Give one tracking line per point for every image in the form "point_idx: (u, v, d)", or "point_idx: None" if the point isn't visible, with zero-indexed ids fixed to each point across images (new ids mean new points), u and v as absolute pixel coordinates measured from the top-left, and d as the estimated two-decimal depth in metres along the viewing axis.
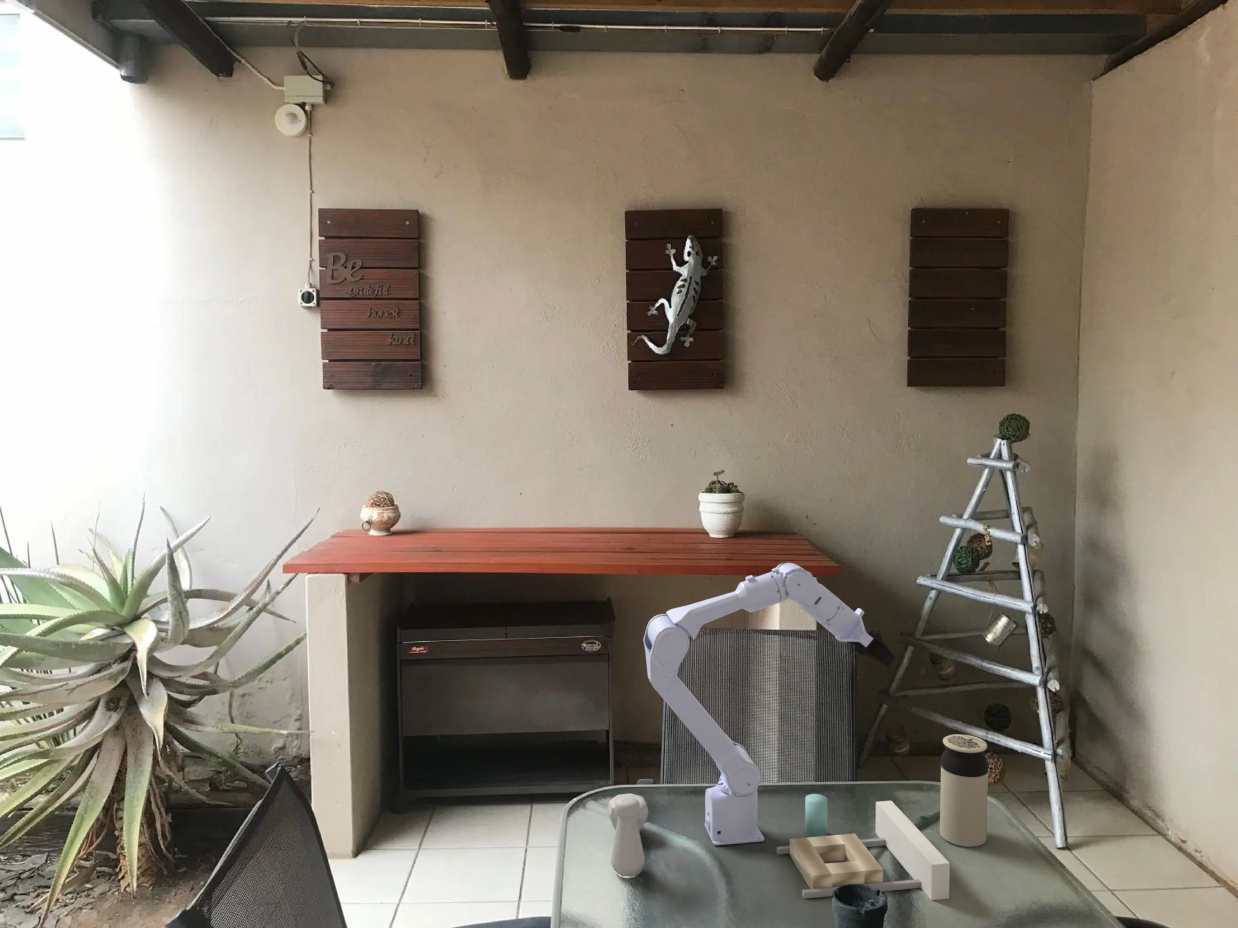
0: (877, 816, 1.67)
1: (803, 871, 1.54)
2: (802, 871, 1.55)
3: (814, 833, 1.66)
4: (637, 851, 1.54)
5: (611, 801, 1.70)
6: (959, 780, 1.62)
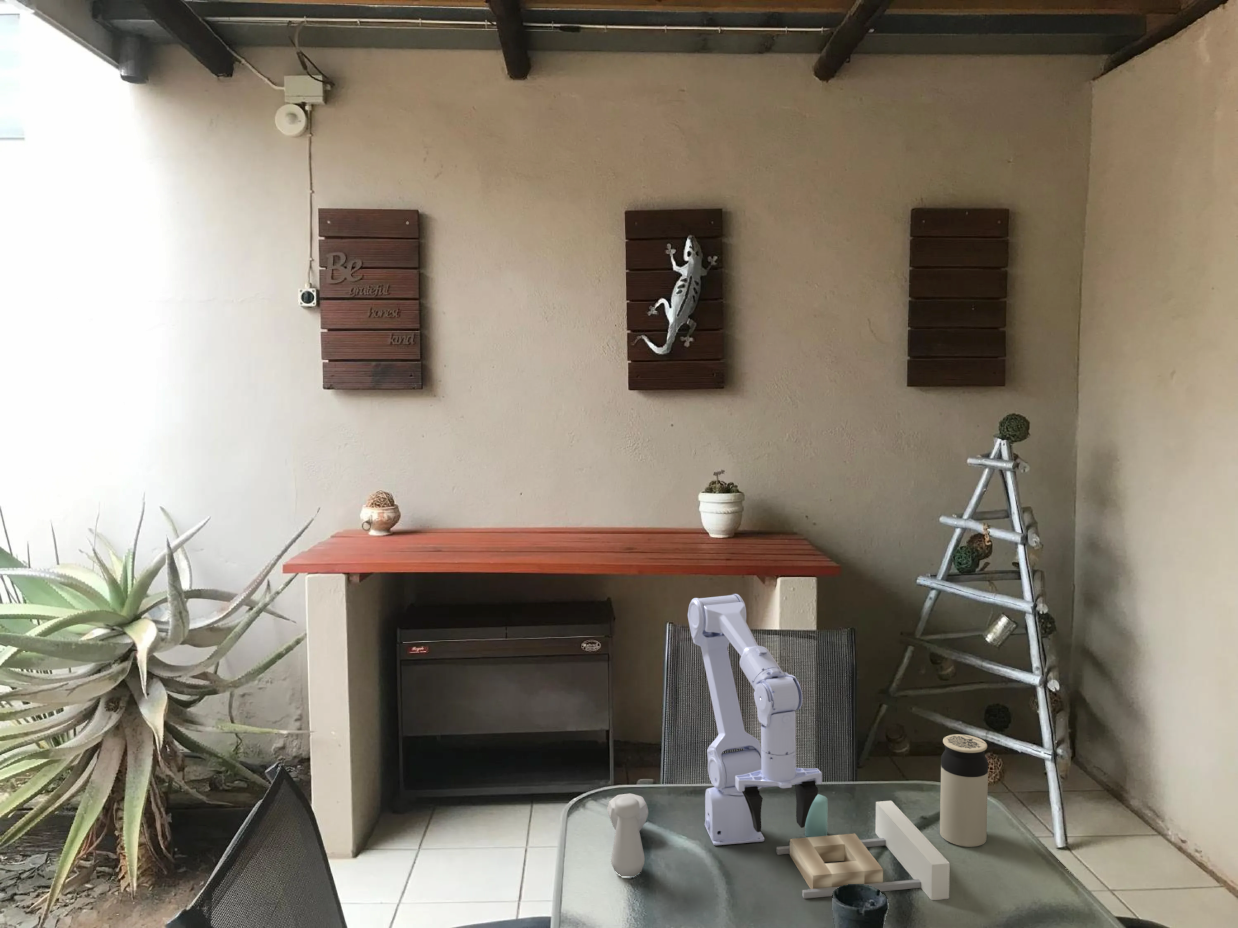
0: (877, 816, 1.67)
1: (803, 871, 1.54)
2: (802, 871, 1.55)
3: (814, 833, 1.66)
4: (637, 851, 1.54)
5: (611, 801, 1.70)
6: (959, 780, 1.62)
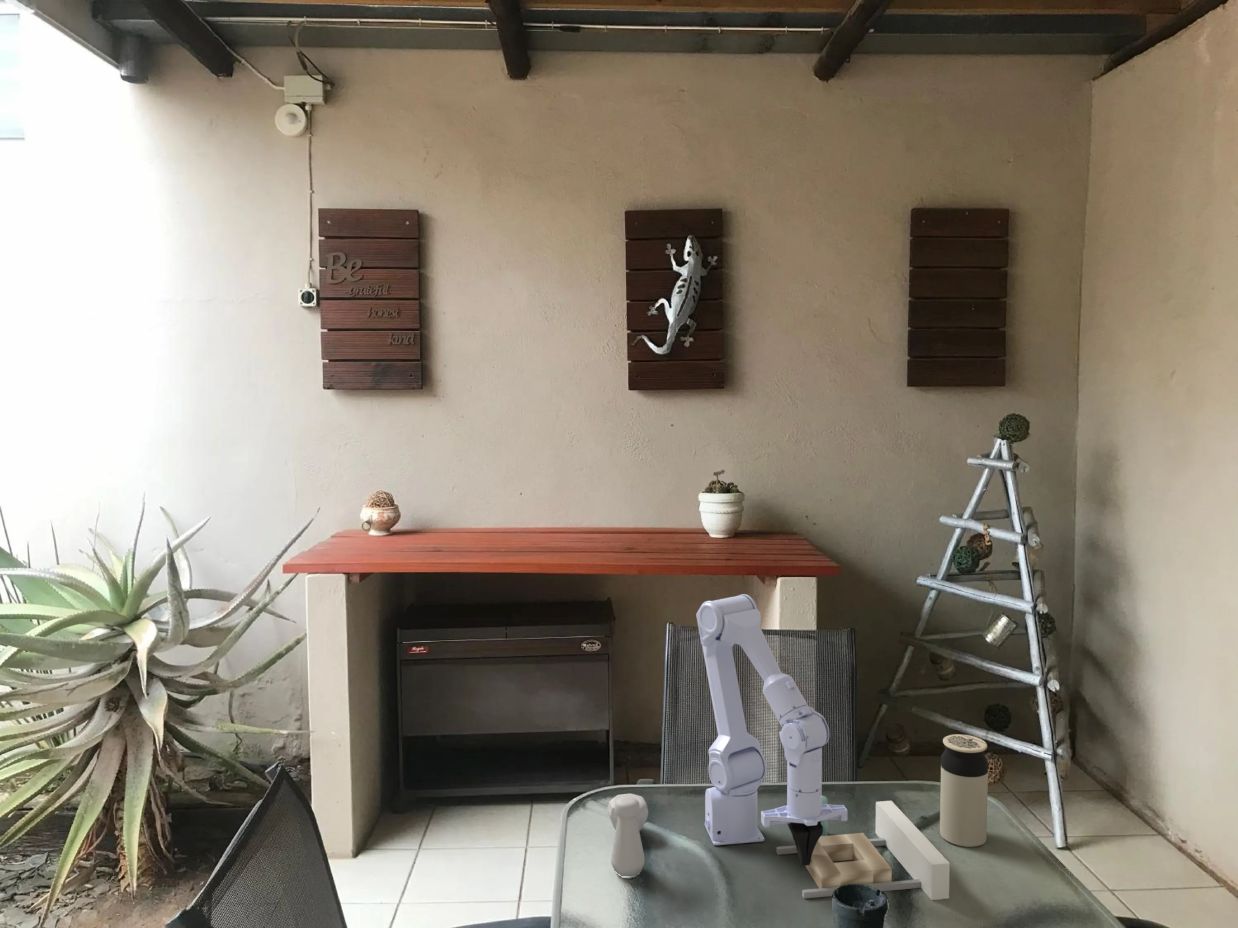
0: (877, 816, 1.67)
1: (812, 870, 1.54)
2: (810, 871, 1.55)
3: None
4: (637, 851, 1.54)
5: (611, 801, 1.70)
6: (959, 780, 1.62)
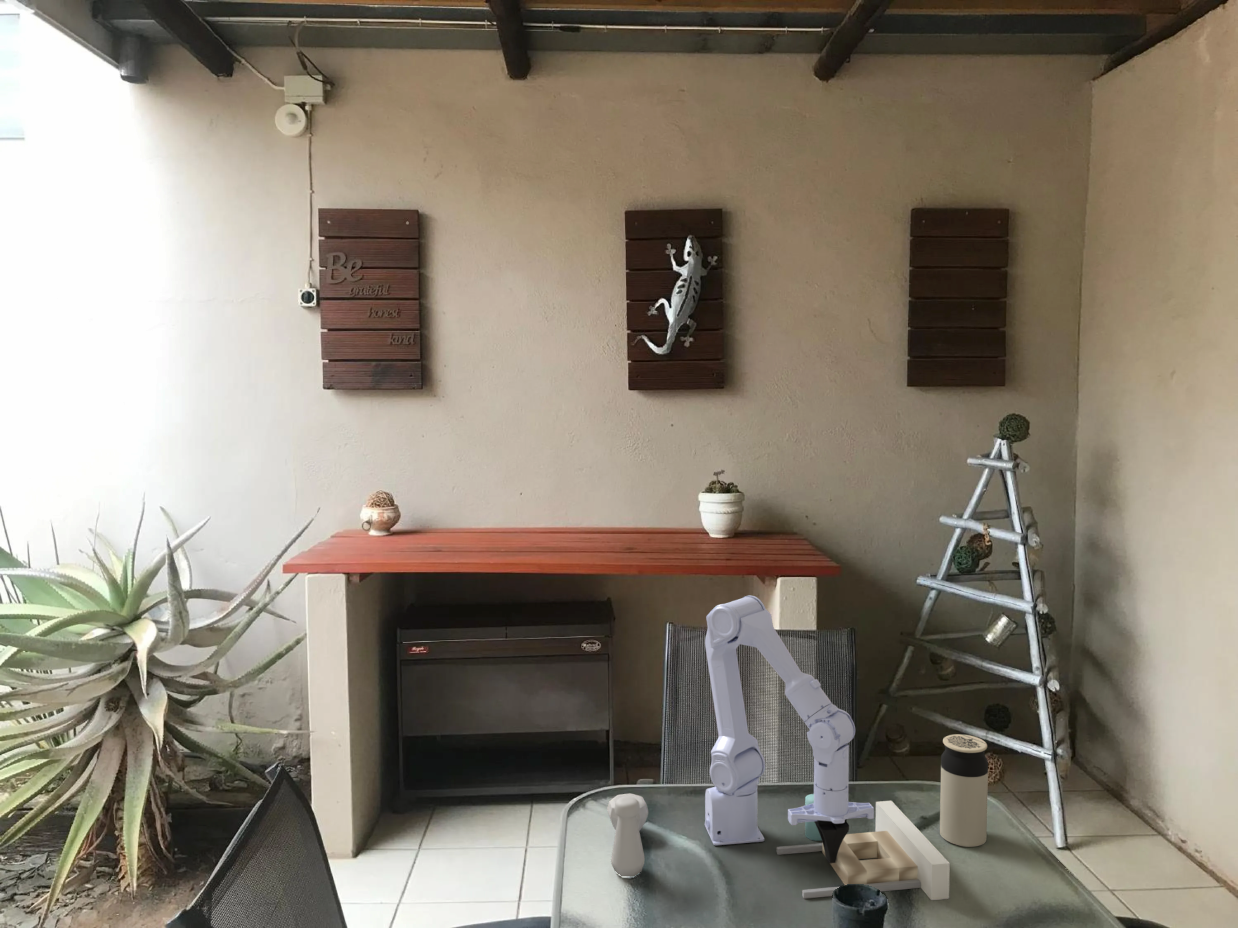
0: (877, 816, 1.67)
1: (837, 868, 1.55)
2: (836, 868, 1.55)
3: (814, 833, 1.66)
4: (637, 851, 1.54)
5: (611, 801, 1.70)
6: (959, 780, 1.62)
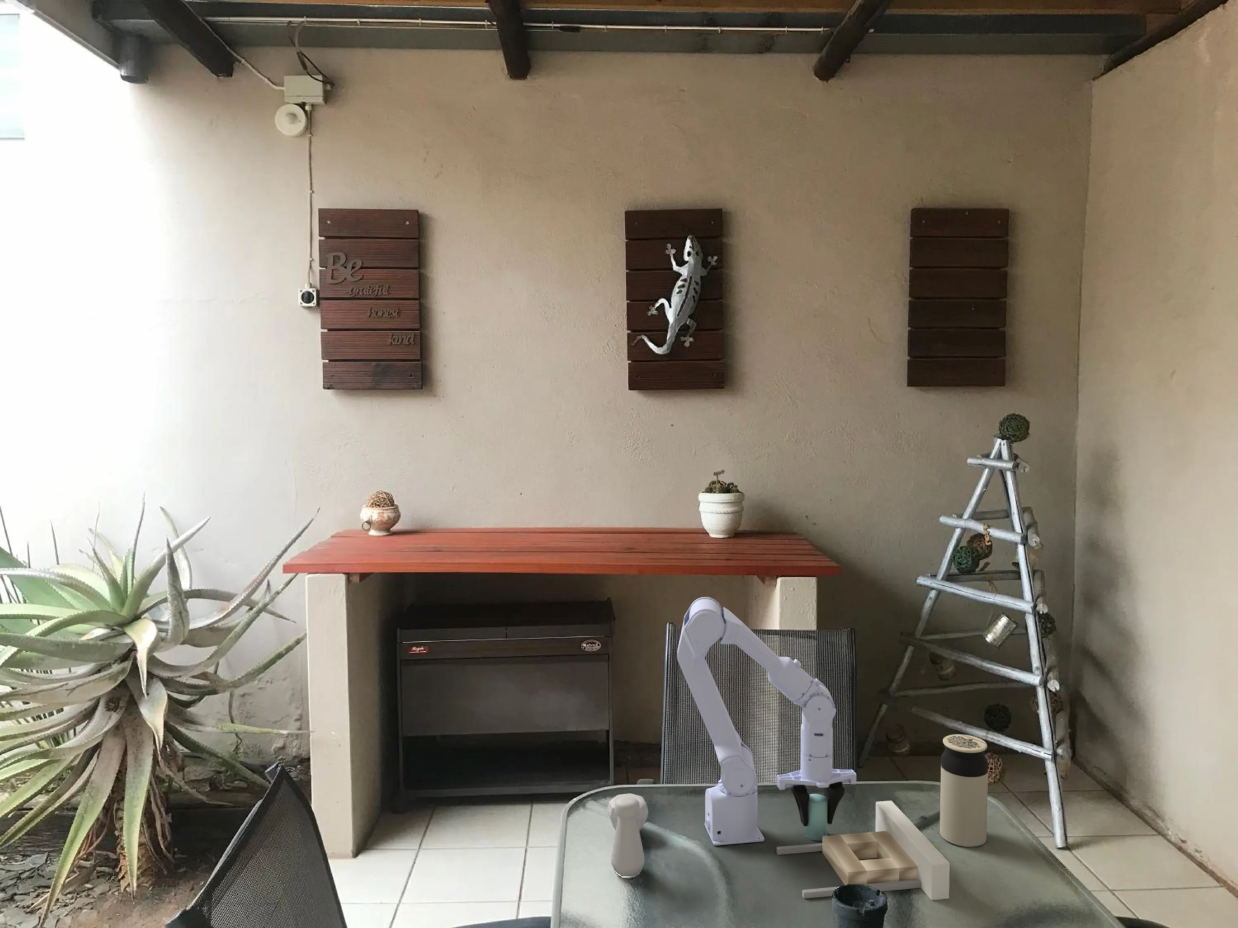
0: (877, 816, 1.67)
1: (837, 868, 1.55)
2: (836, 868, 1.55)
3: (814, 833, 1.66)
4: (637, 851, 1.54)
5: (611, 801, 1.70)
6: (959, 780, 1.62)
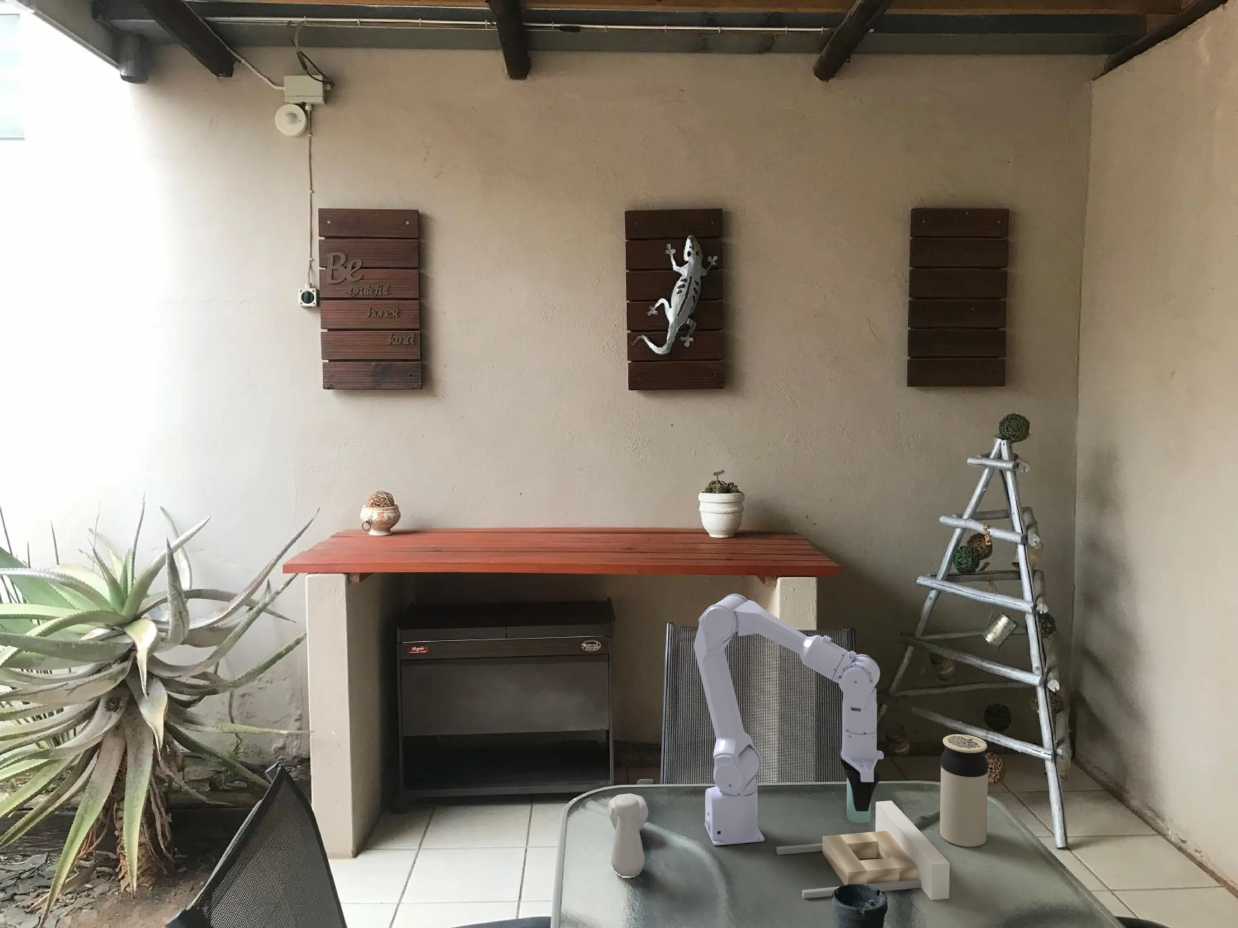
0: (877, 816, 1.67)
1: (837, 868, 1.55)
2: (836, 868, 1.55)
3: (870, 812, 1.57)
4: (637, 851, 1.54)
5: (611, 801, 1.70)
6: (959, 780, 1.62)
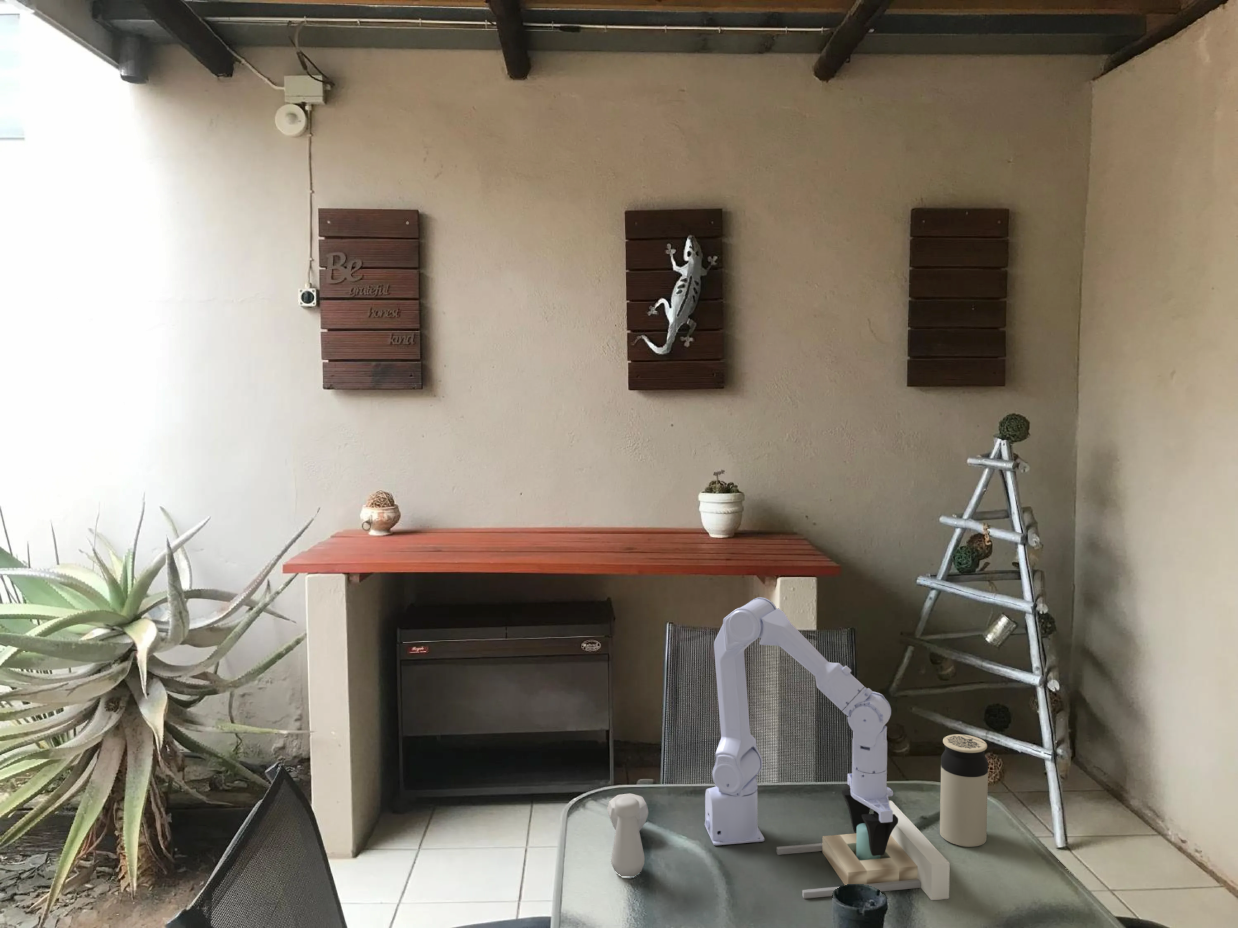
0: None
1: (837, 868, 1.55)
2: (836, 868, 1.55)
3: None
4: (637, 851, 1.54)
5: (611, 801, 1.70)
6: (959, 780, 1.62)
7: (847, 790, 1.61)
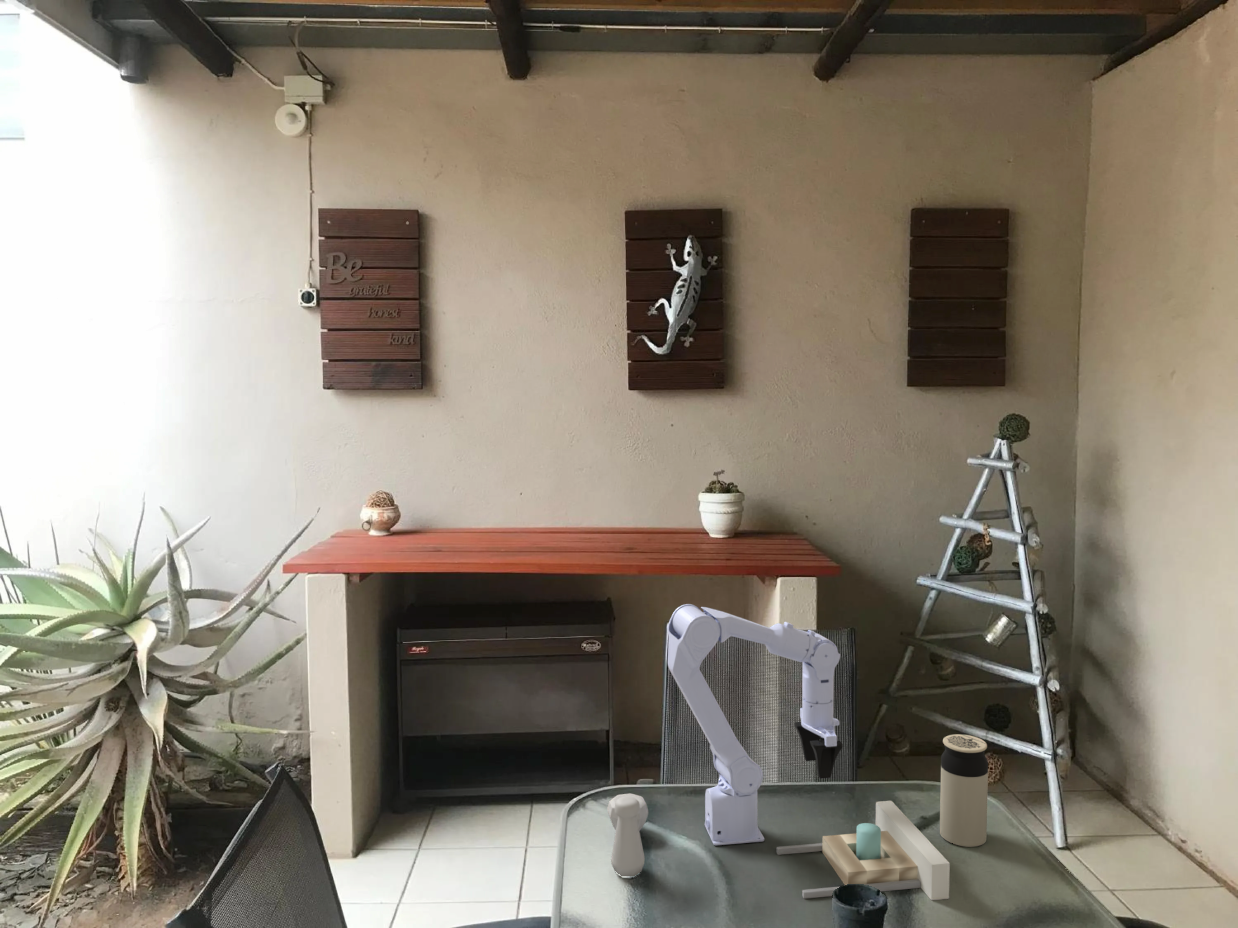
0: (877, 816, 1.67)
1: (837, 868, 1.55)
2: (836, 868, 1.55)
3: None
4: (637, 851, 1.54)
5: (611, 801, 1.70)
6: (959, 780, 1.62)
7: (799, 722, 1.77)
